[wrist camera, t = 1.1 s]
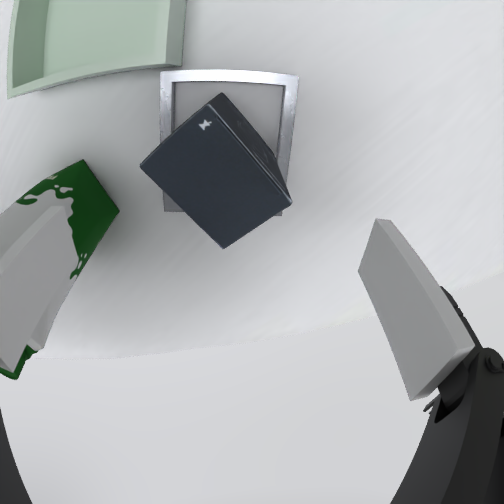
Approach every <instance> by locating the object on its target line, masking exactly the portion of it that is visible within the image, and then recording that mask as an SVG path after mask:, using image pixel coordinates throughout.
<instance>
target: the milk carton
mask: <svg viewBox="0 0 504 504" xmlns="http://www.w3.org/2000/svg"><path fill="white" fill-rule="evenodd" d="M51 206H64V208H65V213H66V217H67V221H68V224H69V228H70V232H71V236H72V239H73V243H74V246H75V249H76V253H77V256H78V259H77V260H76V261H75V263H74V264H73V266H72V267H71V269H70V270H69V272H68V273H67V275H66V276H65V278H64V280H63V281H62V283H61V284H60V286H59V287H58V289H57V291H56V292H55V294H54V296H53V297H52V299H51V301H50V302H49V304H48V306H47V307H46V309H45V311H44V313H43V314H42V316H41V318H40V320H39V322H38V323H37V325H36V327H35V329H34V331H33V333H32V335H31V337H30V339H29V340H28V342H27V344H26V346H25V349H24V351H23V353H22V355H21V357H20V359H19V361H18V363H17V366H16V368H15V370H14V372H13V373H12V372H10V371H8V370H5V369H3V368H1V367H0V373H1V374H3V375H4V376H6V377H8V378H10V379H14V380H17V379H18V378H19V375H20V372H21V371H22V368H23V366H24V364H25V361H26V360H27V359H29V358H30V357H31V356H32V354H34V353H37V352H38V350H41V349H43V348H44V346H45V343H46V340H47V337H48V334H49V332H50V329H51V327H52V324H53V322H54V319H55V317H56V315H57V313H58V311H59V309H60V307H61V305H62V303H63V302H64V300H65V298H66V296H67V294H68V293H69V291H70V289H71V287H72V286H73V284H74V282H75V281H76V279H77V277H78V276H79V274H80V272H81V271H82V269H83V267H84V266H85V264H86V263H87V261H88V259H89V258H90V256H91V255H92V253H93V252H94V250H95V248H96V247H97V245H98V244H99V242H100V240H101V239H102V237H103V236H104V234H105V232H106V231H107V229H108V228H109V226H110V225H111V223H112V222H113V220H114V218H115V217H116V215H117V214H118V213H119V210H118V208H117V207H116V205H115V204H114V203H113V201H112V200H111V199H110V197H109V196H108V195H107V193H106V192H105V190H104V189H103V188H102V186H101V185H100V183H99V182H98V180H97V179H96V178H95V176H94V175H93V173H92V172H91V170H90V169H89V167H88V166H87V164H86V163H85V161H84V160H81V161H79V162H77V163H75V164H73V165H71V166H69V167H67V168H65V169H63V170H61V171H59V172H57V173H55V174H53V175H51V176H50V177H48V178H46V179H44V180H43V181H41V182H40V183H39V184H37V185H36V186H34V187H33V188H32V189H31V190H29V191H28V192H27V193H25V194H24V195H23V196H22V197H21V198H19V199H18V200H17V201H16V202H15V203H13V204H12V205H11V206H10V207H9V208H8V209H6V210H5V211H4V212H3V213H2V214H1V215H0V259H1V258H2V257H3V255H4V254H5V253H6V252H7V251H8V250H9V249H10V247H11V246H12V245H13V244H14V243H15V242H16V241H17V240H18V239H19V238H20V237H21V235H22V234H23V233H24V232H25V231H26V230H27V229H28V228H29V227H30V226H31V225H32V224H33V223H34V222H35V221H36V220H37V219H38V218H39V217H40V216H41V215H42V214H43V213H44V212H46V211H47V210H48V209H49V208H50V207H51Z"/></svg>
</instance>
